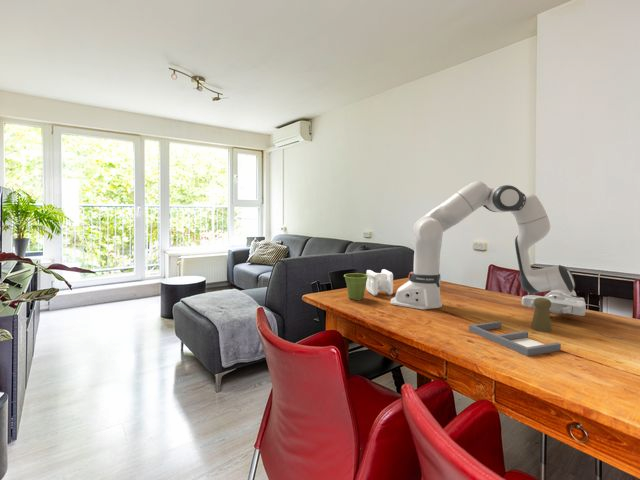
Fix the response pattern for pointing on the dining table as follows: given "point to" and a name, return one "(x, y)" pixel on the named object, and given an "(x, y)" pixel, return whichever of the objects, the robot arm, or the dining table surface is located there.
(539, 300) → the cork
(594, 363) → the dining table surface
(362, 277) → the plant pot
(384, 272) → the cable organizer
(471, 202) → the robot arm
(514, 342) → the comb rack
